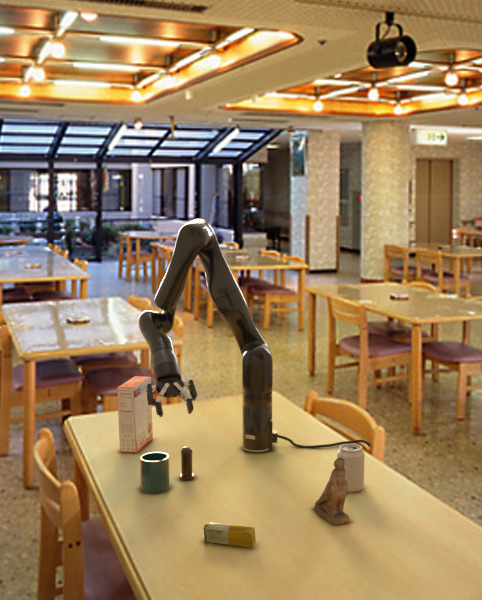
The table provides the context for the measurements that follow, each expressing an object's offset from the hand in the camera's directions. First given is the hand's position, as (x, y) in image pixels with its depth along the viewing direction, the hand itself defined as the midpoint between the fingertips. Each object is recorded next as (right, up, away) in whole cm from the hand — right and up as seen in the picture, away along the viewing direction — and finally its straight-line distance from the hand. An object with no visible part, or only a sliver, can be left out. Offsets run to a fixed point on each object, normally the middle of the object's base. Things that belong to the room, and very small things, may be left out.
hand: (176, 414), depth 230 cm
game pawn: (+5, -17, -7) cm, 19 cm away
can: (+50, -19, -13) cm, 55 cm away
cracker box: (-17, -13, +19) cm, 29 cm away
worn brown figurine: (+45, -21, -30) cm, 59 cm away
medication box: (+22, -23, -47) cm, 57 cm away
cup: (-3, -18, -15) cm, 24 cm away
